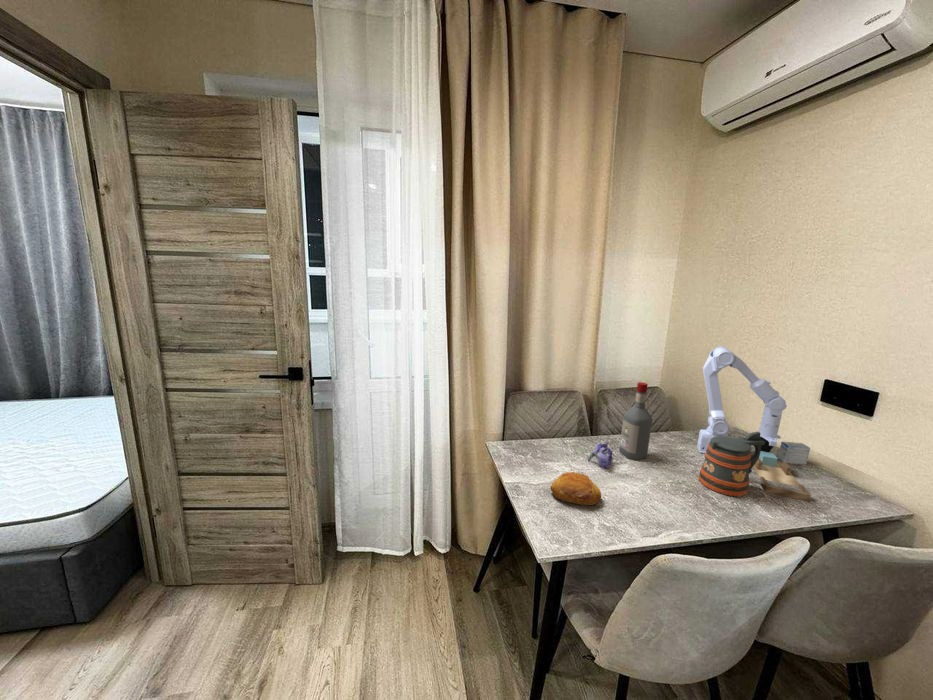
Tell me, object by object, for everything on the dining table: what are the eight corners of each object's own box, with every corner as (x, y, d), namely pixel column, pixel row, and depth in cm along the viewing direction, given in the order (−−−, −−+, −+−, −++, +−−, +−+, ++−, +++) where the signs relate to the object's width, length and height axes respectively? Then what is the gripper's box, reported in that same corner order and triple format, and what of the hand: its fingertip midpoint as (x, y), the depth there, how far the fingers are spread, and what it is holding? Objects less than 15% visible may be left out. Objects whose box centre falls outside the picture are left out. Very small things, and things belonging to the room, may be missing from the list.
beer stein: (732, 472, 145) (741, 422, 141) (769, 494, 131) (781, 439, 127) (688, 475, 141) (697, 424, 137) (722, 498, 127) (733, 442, 123)
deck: (765, 492, 132) (767, 480, 131) (745, 459, 155) (747, 449, 154) (809, 501, 127) (812, 489, 126) (782, 466, 151) (784, 456, 150)
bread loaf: (596, 518, 118) (603, 496, 116) (546, 500, 123) (552, 478, 120) (598, 493, 131) (605, 473, 129) (553, 477, 136) (558, 457, 134)
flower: (582, 448, 145) (608, 440, 142) (583, 448, 153) (608, 441, 150) (592, 473, 142) (619, 465, 139) (592, 472, 150) (618, 464, 147)
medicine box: (797, 462, 155) (802, 442, 153) (806, 468, 150) (810, 447, 148) (776, 461, 155) (781, 441, 154) (784, 466, 151) (789, 446, 149)
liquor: (630, 461, 150) (640, 387, 144) (616, 450, 159) (625, 380, 153) (650, 459, 153) (660, 386, 146) (635, 448, 161) (644, 380, 155)
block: (761, 464, 149) (763, 456, 148) (757, 458, 153) (759, 450, 152) (775, 467, 147) (777, 458, 146) (771, 461, 151) (773, 453, 151)
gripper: (789, 432, 143) (781, 466, 146) (776, 419, 156) (769, 450, 159) (766, 429, 146) (759, 461, 149) (755, 416, 159) (749, 446, 162)
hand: (763, 455), depth 154 cm, fingers closed
